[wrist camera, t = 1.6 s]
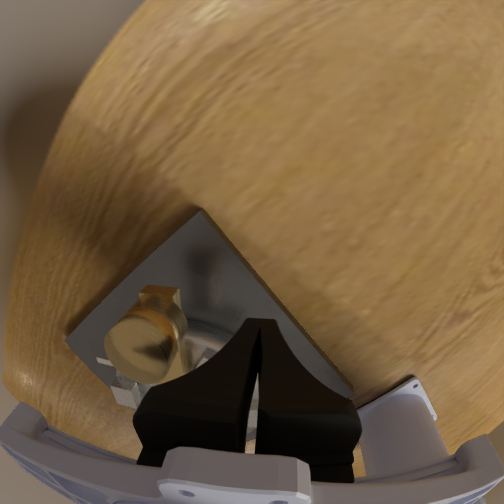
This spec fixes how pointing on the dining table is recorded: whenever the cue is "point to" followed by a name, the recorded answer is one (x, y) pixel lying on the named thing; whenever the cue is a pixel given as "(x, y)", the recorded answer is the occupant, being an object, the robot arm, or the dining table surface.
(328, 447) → the robot arm
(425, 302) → the dining table surface
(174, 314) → the metal round piece
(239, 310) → the dark grey square plate
